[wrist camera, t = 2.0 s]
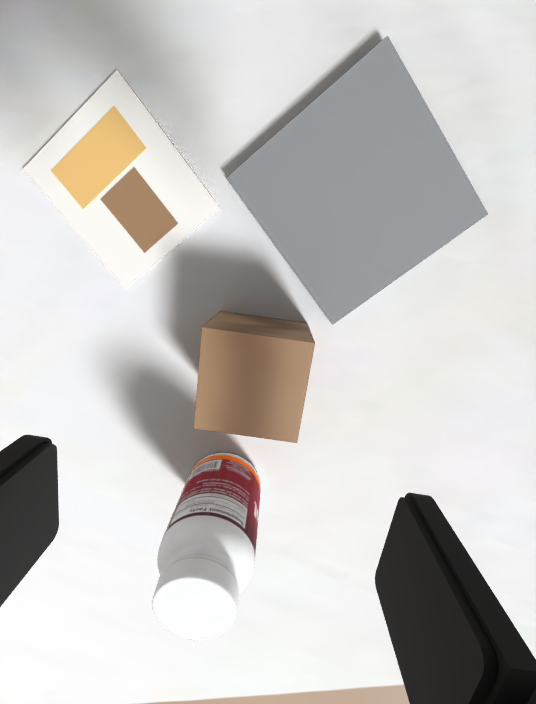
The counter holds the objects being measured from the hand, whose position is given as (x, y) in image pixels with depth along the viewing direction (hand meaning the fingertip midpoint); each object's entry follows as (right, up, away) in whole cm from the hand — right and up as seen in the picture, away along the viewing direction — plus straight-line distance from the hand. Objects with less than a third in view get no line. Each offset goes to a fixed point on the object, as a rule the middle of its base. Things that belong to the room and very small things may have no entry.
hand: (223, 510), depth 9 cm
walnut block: (0, +4, +17) cm, 17 cm away
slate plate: (+7, +15, +13) cm, 21 cm away
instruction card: (-9, +15, +14) cm, 22 cm away
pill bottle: (-2, -7, +20) cm, 21 cm away
